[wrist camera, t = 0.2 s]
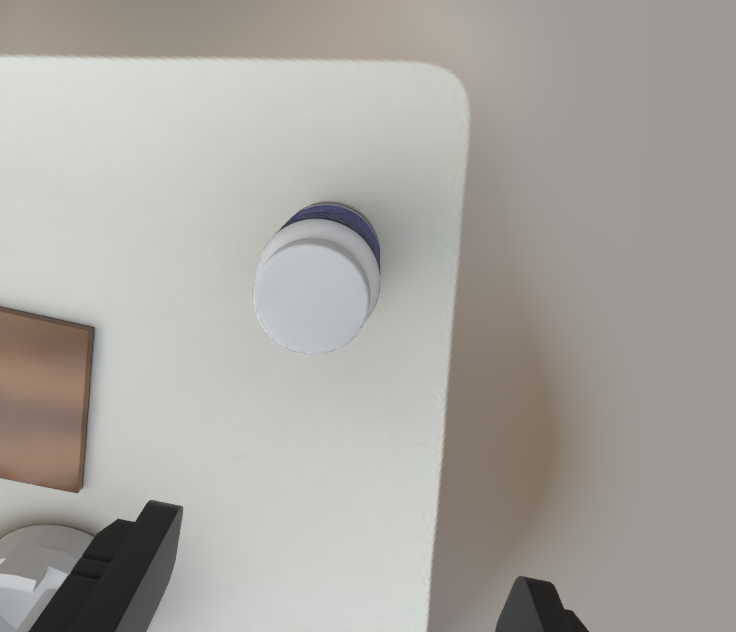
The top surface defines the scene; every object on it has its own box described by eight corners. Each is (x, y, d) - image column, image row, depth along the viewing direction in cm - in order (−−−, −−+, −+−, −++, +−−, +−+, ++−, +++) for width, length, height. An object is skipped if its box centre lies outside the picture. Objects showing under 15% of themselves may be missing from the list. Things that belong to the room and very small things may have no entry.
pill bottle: (275, 203, 29) (229, 233, 20) (377, 197, 29) (379, 224, 20) (286, 300, 31) (249, 370, 22) (381, 295, 31) (386, 364, 21)
